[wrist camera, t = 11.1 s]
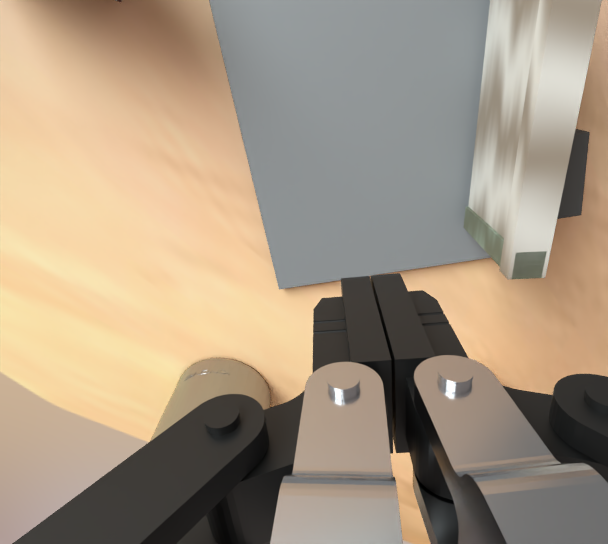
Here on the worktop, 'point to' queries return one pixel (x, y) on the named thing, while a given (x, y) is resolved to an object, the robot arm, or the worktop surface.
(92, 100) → the worktop surface
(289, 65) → the plaque display stand
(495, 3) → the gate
